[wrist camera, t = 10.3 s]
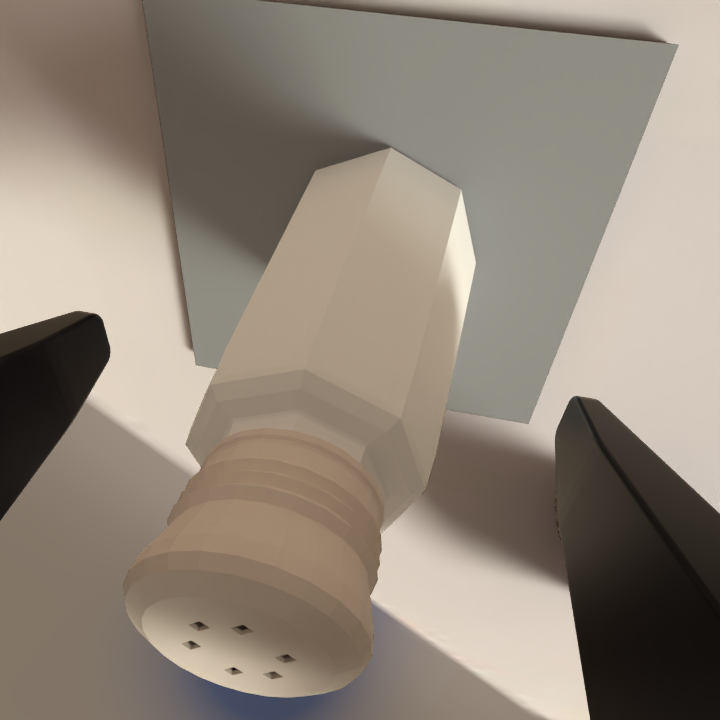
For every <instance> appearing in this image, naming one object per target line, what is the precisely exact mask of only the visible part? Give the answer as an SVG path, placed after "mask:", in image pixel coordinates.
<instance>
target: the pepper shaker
mask: <svg viewBox="0 0 720 720" xmlns="http://www.w3.org/2000/svg"><path fill="white" fill-rule="evenodd" d="M475 265H476V261H475V256H474V251H473V246H472V241H471V236H470V231H469V226H468V221H467V216H466V211H465V206H464V201H463V196H462V191H461V189H459V188H458V187H456V186H454V185H453V184H451V183H449V182H448V181H446V180H444V179H443V178H441V177H439V176H438V175H436V174H434V173H433V172H431V171H429V170H428V169H426V168H424V167H423V166H421V165H419V164H418V163H416V162H414V161H413V160H411V159H409V158H408V157H406V156H404V155H403V154H401V153H399V152H398V151H396V150H394V149H393V148H388V149H384V150H381V151H378V152H374V153H371V154H368V155H365V156H361V157H358V158H355V159H351V160H348V161H345V162H342V163H338V164H335V165H332V166H328V167H325V168H322V169H318V170H316V171H315V173H314V175H313V177H312V178H311V180H310V182H309V184H308V186H307V188H306V190H305V192H304V194H303V196H302V198H301V200H300V202H299V204H298V206H297V208H296V210H295V212H294V214H293V216H292V218H291V220H290V222H289V224H288V226H287V228H286V230H285V232H284V234H283V236H282V238H281V240H280V242H279V244H278V246H277V248H276V250H275V252H274V254H273V256H272V258H271V260H270V262H269V264H268V266H267V268H266V270H265V272H264V274H263V276H262V277H261V279H260V281H259V283H258V285H257V287H256V289H255V291H254V293H253V295H252V297H251V299H250V301H249V303H248V305H247V307H246V309H245V311H244V313H243V315H242V317H241V319H240V321H239V323H238V325H237V327H236V329H235V331H234V333H233V335H232V337H231V339H230V341H229V343H228V345H227V347H226V349H225V351H224V354H223V356H222V359H221V361H220V363H219V366H218V368H217V370H216V372H215V374H214V376H213V378H212V380H211V382H210V385H209V387H208V389H207V391H206V393H205V396H204V398H203V400H202V403H201V405H200V408H199V410H198V413H197V415H196V417H195V420H194V422H193V425H192V427H191V430H190V433H189V436H188V439H187V442H186V446H187V447H188V449H189V450H190V452H191V453H192V454H193V456H194V457H195V459H196V460H197V462H198V463H199V465H200V466H201V469H200V471H199V472H198V473H197V474H196V475H195V476H194V477H192V478H191V479H190V480H189V482H188V484H187V486H186V488H185V490H184V491H183V492H182V493H181V495H180V498H179V500H178V502H177V503H176V504H175V505H174V506H173V509H172V511H171V513H170V515H169V517H168V520H167V523H168V527H167V528H165V530H163V531H162V532H161V533H160V534H159V535H158V536H157V537H156V538H155V539H154V540H153V541H152V542H151V543H150V544H149V545H148V546H147V547H146V548H145V549H144V550H143V551H142V552H141V553H140V554H139V556H138V557H137V559H136V560H135V562H134V563H133V565H132V566H131V568H130V569H129V571H128V573H127V576H126V579H125V581H124V583H123V588H124V596H125V603H126V609H127V614H128V616H129V617H130V619H131V621H132V622H133V624H134V626H135V627H136V629H137V630H138V631H139V632H140V633H141V634H142V635H143V636H144V637H145V638H146V639H147V640H148V641H149V642H150V643H151V644H152V645H154V647H155V648H156V649H158V650H159V651H160V652H161V653H162V654H163V655H164V656H165V657H167V658H168V659H170V660H171V661H173V662H174V663H176V664H177V665H178V666H180V667H182V668H184V669H186V670H187V671H189V672H191V673H193V674H195V675H197V676H199V677H201V678H204V679H206V680H209V681H211V682H214V683H216V684H219V685H221V686H225V687H228V688H232V689H235V690H239V691H242V692H247V693H252V694H258V695H263V696H273V697H299V696H310V695H317V694H323V693H327V692H331V691H334V690H338V689H341V688H343V687H344V686H346V685H347V684H349V683H350V682H352V681H353V680H355V679H356V678H357V677H358V676H359V675H360V674H361V673H362V672H363V671H364V670H365V668H366V666H367V664H368V662H369V661H370V659H371V657H372V651H373V640H374V633H373V619H372V611H371V601H370V595H371V593H372V591H373V589H374V587H375V585H376V582H377V580H378V577H377V570H378V568H379V565H380V560H379V556H380V553H381V551H382V549H381V534H382V533H383V532H384V531H385V530H386V529H387V528H388V527H389V526H390V525H391V524H392V523H393V522H394V521H395V520H396V519H397V518H398V517H399V516H400V515H401V514H402V513H403V512H404V511H405V510H406V509H407V508H408V507H409V506H410V505H411V504H412V503H413V502H414V501H415V500H416V499H417V498H418V497H419V496H420V495H421V494H422V493H423V492H424V491H425V490H426V487H427V484H428V480H429V477H430V473H431V470H432V466H433V463H434V459H435V456H436V452H437V447H438V442H439V438H440V433H441V428H442V423H443V418H444V414H445V409H446V404H447V399H448V394H449V390H450V385H451V380H452V375H453V371H454V366H455V361H456V356H457V351H458V347H459V342H460V337H461V332H462V328H463V323H464V318H465V313H466V308H467V304H468V299H469V294H470V289H471V284H472V280H473V275H474V270H475Z"/></svg>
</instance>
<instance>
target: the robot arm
mask: <svg viewBox="0 0 720 720" xmlns="http://www.w3.org/2000/svg"><path fill="white" fill-rule="evenodd" d="M109 358H110V345H109V342H108V338H107V334H106V331H105V327H104V323H103V320H102V318H101V317H100V316H99V315H97V314H94V313H88V312H83V311H75V312H71V313H68V314H65V315H61V316H58V317H55V318H51V319H48V320H45V321H41V322H38V323H34V324H31V325H28V326H24V327H21V328H18V329H14V330H11V331H8V332H4V333H1V334H0V520H1V519H2V518H3V516H4V515H5V514H6V512H7V511H8V510H9V508H10V507H11V506H12V504H13V503H14V502H15V500H16V499H17V497H18V496H19V495H20V493H21V492H22V491H23V489H24V488H25V487H26V485H27V484H28V482H29V481H30V479H31V478H32V477H33V476H34V474H35V473H36V472H37V470H38V469H39V468H40V466H41V465H42V463H43V462H44V461H45V459H46V458H47V457H48V455H49V454H50V453H51V451H52V450H53V448H54V447H55V446H56V444H57V443H58V442H59V440H60V439H61V437H62V436H63V435H64V434H65V432H66V431H67V429H68V428H69V426H70V425H71V423H72V422H73V421H74V419H75V417H76V416H77V414H78V412H79V411H80V409H81V407H82V406H83V404H84V402H85V400H86V399H87V397H88V395H89V394H90V392H91V390H92V388H93V387H94V385H95V383H96V382H97V380H98V378H99V376H100V375H101V373H102V371H103V370H104V368H105V366H106V364H107V363H108V361H109ZM555 457H556V487H557V511H558V521H559V529H560V535H561V541H562V547H563V553H564V560H565V566H566V572H567V578H568V584H569V591H570V597H571V603H572V609H573V616H574V622H575V628H576V634H577V640H578V647H579V653H580V659H581V665H582V671H583V678H584V684H585V690H586V696H587V703H588V709H589V715H590V720H720V513H718V512H717V511H716V510H715V509H714V508H713V507H712V506H711V505H710V504H709V503H708V502H707V501H706V500H705V499H704V498H702V497H701V496H700V495H699V494H698V493H697V492H696V491H695V490H694V489H693V488H692V487H691V486H690V485H689V484H687V483H686V482H685V481H684V480H683V479H682V478H681V477H680V476H679V475H678V474H677V473H676V472H675V471H674V470H673V469H671V468H670V467H669V466H668V465H667V464H666V463H665V462H664V461H663V460H662V459H661V458H660V457H659V456H658V455H657V454H655V453H654V452H653V451H652V450H651V449H650V448H649V447H648V446H647V445H646V444H645V443H644V442H643V441H642V440H640V439H639V438H638V437H637V436H636V435H635V434H634V433H633V432H632V431H631V430H630V429H629V428H628V427H627V426H626V425H624V424H623V423H622V422H621V421H620V420H619V419H618V418H617V417H616V416H615V415H614V414H613V413H612V412H611V411H610V410H608V409H607V408H606V407H605V406H604V405H603V404H602V403H601V402H600V401H598V400H597V399H592V398H587V397H581V396H575V397H572V399H571V400H570V401H569V403H568V405H567V408H566V410H565V412H564V414H563V416H562V419H561V421H560V423H559V425H558V428H557V431H556V435H555Z"/></svg>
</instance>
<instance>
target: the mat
mask: <svg viewBox="0 0 720 720" xmlns="http://www.w3.org/2000/svg"><path fill="white" fill-rule="evenodd" d="M142 2H143V9H144V16H145V23H146V29H147V36H148V43H149V50H150V57H151V63H152V70H153V77H154V84H155V91H156V97H157V104H158V111H159V118H160V125H161V132H162V138H163V145H164V152H165V159H166V166H167V172H168V179H169V186H170V193H171V200H172V206H173V213H174V220H175V227H176V234H177V240H178V247H179V254H180V261H181V268H182V275H183V281H184V288H185V295H186V302H187V309H188V315H189V322H190V329H191V336H192V343H193V349H194V356H195V363H196V365H198V366H203V367H209V368H214V369H217V368H218V366H219V363H220V361H221V359H222V356H223V354H224V351H225V349H226V347H227V345H228V343H229V341H230V339H231V337H232V335H233V333H234V331H235V329H236V327H237V325H238V323H239V321H240V319H241V317H242V315H243V313H244V311H245V309H246V307H247V305H248V303H249V301H250V299H251V297H252V295H253V293H254V291H255V289H256V287H257V285H258V283H259V281H260V279H261V277H262V276H263V274H264V272H265V270H266V268H267V266H268V264H269V262H270V260H271V258H272V256H273V254H274V252H275V250H276V248H277V246H278V244H279V242H280V240H281V238H282V236H283V234H284V232H285V230H286V228H287V226H288V224H289V222H290V220H291V218H292V216H293V214H294V212H295V210H296V208H297V206H298V204H299V202H300V200H301V198H302V196H303V194H304V192H305V190H306V188H307V186H308V184H309V182H310V180H311V178H312V177H313V175H314V173H315V171H316V170H318V169H322V168H325V167H328V166H332V165H335V164H338V163H342V162H345V161H348V160H351V159H355V158H358V157H361V156H365V155H368V154H371V153H374V152H378V151H381V150H384V149H388V148H393V149H394V150H396V151H398V152H399V153H401V154H403V155H404V156H406V157H408V158H409V159H411V160H413V161H414V162H416V163H418V164H419V165H421V166H423V167H424V168H426V169H428V170H429V171H431V172H433V173H434V174H436V175H438V176H439V177H441V178H443V179H444V180H446V181H448V182H449V183H451V184H453V185H454V186H456V187H458V188H459V189H461V191H462V196H463V201H464V206H465V211H466V216H467V221H468V226H469V231H470V236H471V241H472V246H473V251H474V256H475V261H476V265H475V270H474V275H473V280H472V284H471V289H470V294H469V299H468V304H467V308H466V313H465V318H464V323H463V328H462V332H461V337H460V342H459V347H458V351H457V356H456V361H455V366H454V371H453V375H452V380H451V385H450V390H449V394H448V399H447V404H446V410H452V411H457V412H463V413H468V414H474V415H480V416H485V417H491V418H497V419H502V420H508V421H514V422H519V423H525V424H529V421H530V419H531V416H532V414H533V411H534V409H535V406H536V404H537V401H538V399H539V396H540V393H541V391H542V388H543V386H544V383H545V381H546V378H547V376H548V373H549V371H550V368H551V366H552V363H553V361H554V358H555V356H556V353H557V351H558V348H559V346H560V343H561V341H562V338H563V335H564V333H565V330H566V328H567V325H568V323H569V320H570V318H571V315H572V313H573V310H574V308H575V305H576V303H577V300H578V298H579V295H580V293H581V290H582V288H583V285H584V282H585V280H586V277H587V275H588V272H589V270H590V267H591V265H592V262H593V260H594V257H595V255H596V252H597V250H598V247H599V245H600V242H601V240H602V237H603V235H604V232H605V230H606V227H607V224H608V222H609V219H610V217H611V214H612V212H613V209H614V207H615V204H616V202H617V199H618V197H619V194H620V192H621V189H622V187H623V184H624V182H625V179H626V177H627V174H628V172H629V169H630V166H631V164H632V161H633V159H634V156H635V154H636V151H637V149H638V146H639V144H640V141H641V139H642V136H643V134H644V131H645V129H646V126H647V124H648V121H649V119H650V116H651V114H652V111H653V108H654V106H655V103H656V101H657V98H658V96H659V93H660V91H661V88H662V86H663V83H664V81H665V78H666V76H667V73H668V71H669V68H670V66H671V63H672V61H673V58H674V56H675V53H676V50H677V48H678V45H676V44H670V43H661V42H651V41H642V40H632V39H623V38H613V37H604V36H594V35H585V34H575V33H566V32H556V31H547V30H537V29H528V28H518V27H509V26H499V25H490V24H480V23H471V22H461V21H452V20H442V19H433V18H423V17H414V16H404V15H395V14H385V13H376V12H366V11H357V10H347V9H338V8H328V7H319V6H309V5H300V4H290V3H281V2H271V1H262V0H142Z"/></svg>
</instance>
